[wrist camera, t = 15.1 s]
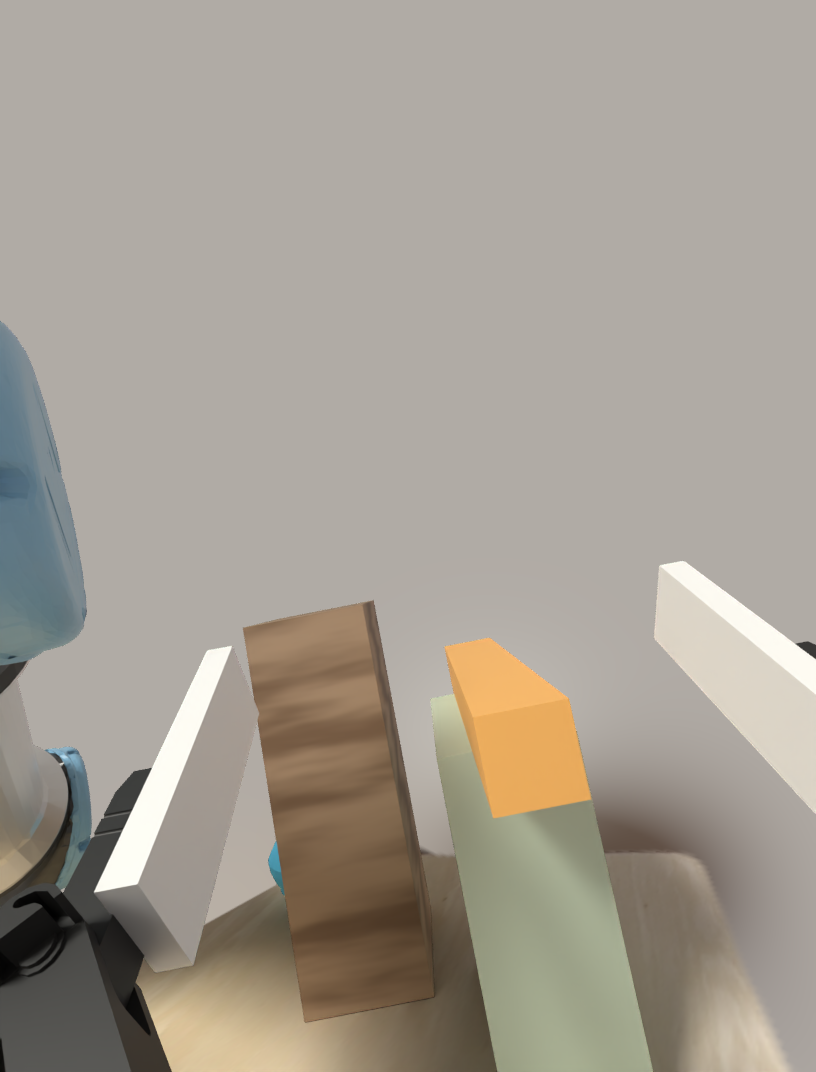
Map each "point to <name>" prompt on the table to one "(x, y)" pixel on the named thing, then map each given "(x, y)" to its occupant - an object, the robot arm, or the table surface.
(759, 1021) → the table surface
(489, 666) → the bar
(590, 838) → the pale green rectangular block
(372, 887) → the post
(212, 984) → the table surface
